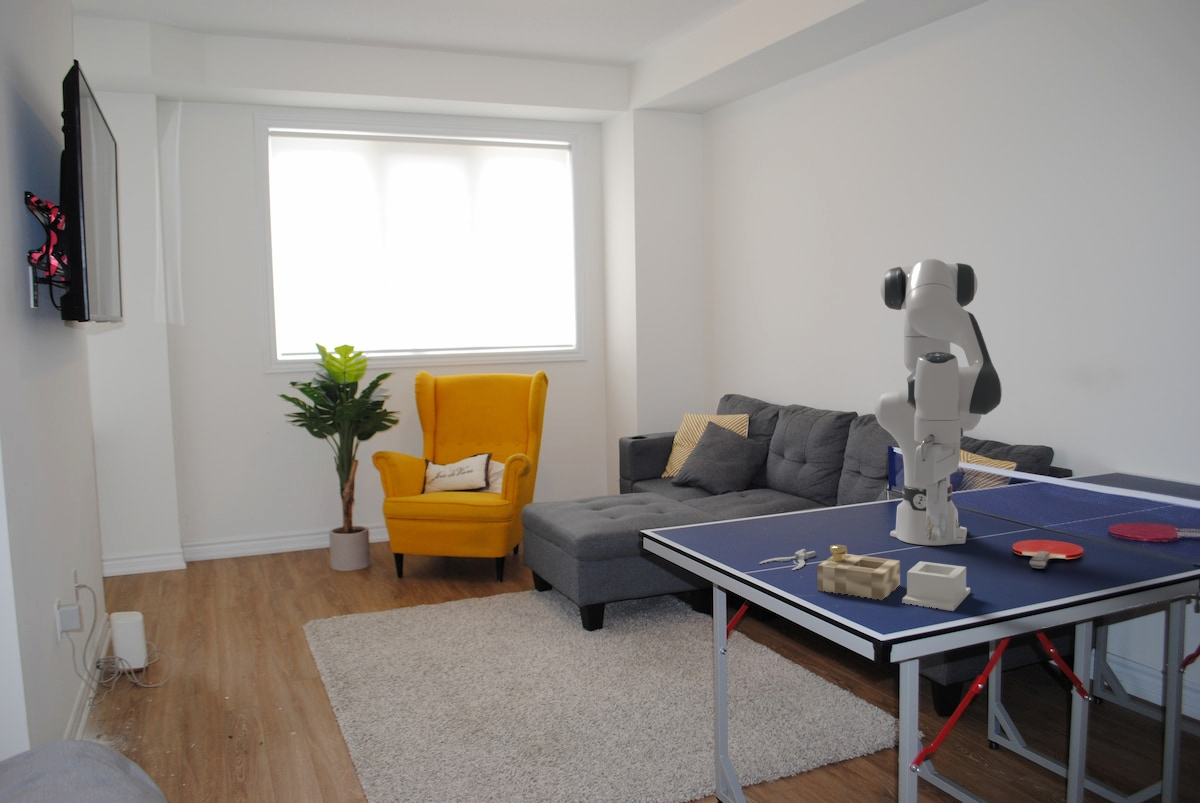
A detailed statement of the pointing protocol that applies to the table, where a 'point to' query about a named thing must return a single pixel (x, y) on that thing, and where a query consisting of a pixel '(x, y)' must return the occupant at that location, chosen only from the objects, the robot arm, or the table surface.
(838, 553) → the key
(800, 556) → the pliers
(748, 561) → the table surface
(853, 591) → the socket block
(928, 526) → the grey rounded cylinder
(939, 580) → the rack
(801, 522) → the table surface
